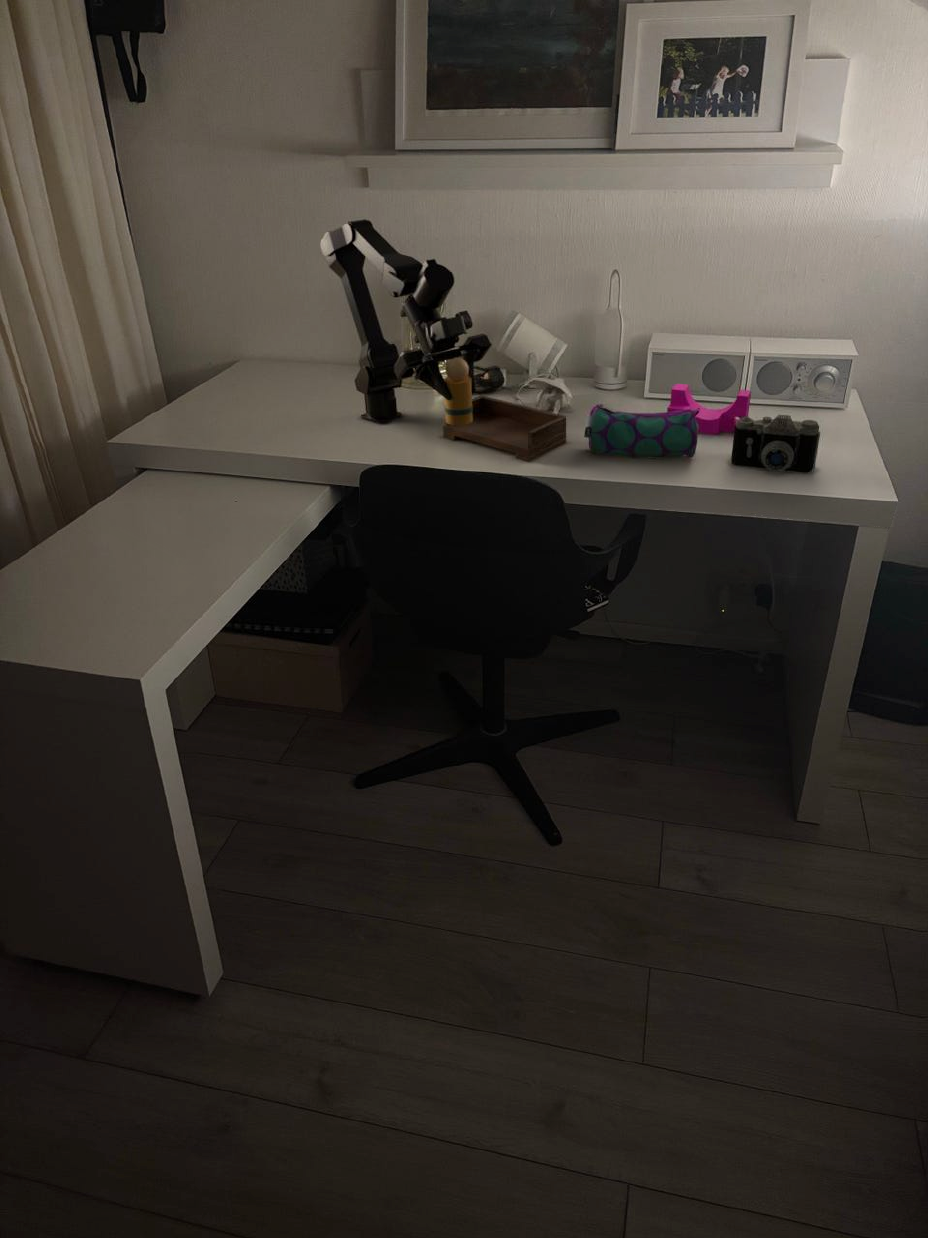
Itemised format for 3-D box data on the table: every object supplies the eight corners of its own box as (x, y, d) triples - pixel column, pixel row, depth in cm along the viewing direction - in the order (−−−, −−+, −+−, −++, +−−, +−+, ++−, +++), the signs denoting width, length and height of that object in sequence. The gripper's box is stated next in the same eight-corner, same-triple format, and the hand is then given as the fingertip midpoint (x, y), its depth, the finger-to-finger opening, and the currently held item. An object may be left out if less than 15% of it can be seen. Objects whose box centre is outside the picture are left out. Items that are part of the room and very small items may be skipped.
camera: (727, 471, 177) (733, 419, 172) (732, 458, 182) (738, 406, 177) (812, 480, 172) (820, 427, 167) (814, 466, 178) (823, 413, 172)
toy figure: (443, 401, 217) (508, 390, 219) (440, 373, 214) (506, 362, 216) (438, 395, 223) (501, 385, 225) (434, 367, 221) (498, 357, 223)
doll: (441, 419, 184) (437, 356, 177) (465, 414, 185) (463, 352, 179) (452, 427, 180) (449, 364, 173) (477, 422, 181) (475, 359, 175)
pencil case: (583, 461, 184) (584, 412, 179) (588, 443, 191) (589, 396, 186) (695, 466, 180) (700, 416, 175) (696, 448, 187) (700, 400, 182)
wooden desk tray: (443, 437, 197) (441, 411, 194) (481, 420, 205) (480, 394, 202) (528, 461, 185) (528, 434, 182) (566, 442, 192) (566, 416, 189)
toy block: (665, 429, 196) (668, 393, 192) (673, 418, 201) (675, 383, 197) (741, 437, 191) (745, 400, 187) (746, 426, 196) (751, 390, 192)
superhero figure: (570, 430, 200) (583, 390, 216) (569, 388, 195) (582, 350, 210) (521, 429, 203) (537, 389, 218) (518, 387, 197) (535, 349, 213)
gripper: (397, 306, 170) (434, 383, 167) (485, 289, 178) (521, 362, 176) (378, 341, 179) (413, 415, 177) (462, 323, 188) (496, 393, 186)
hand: (462, 395), depth 179 cm, fingers closed on doll, 5 cm apart
